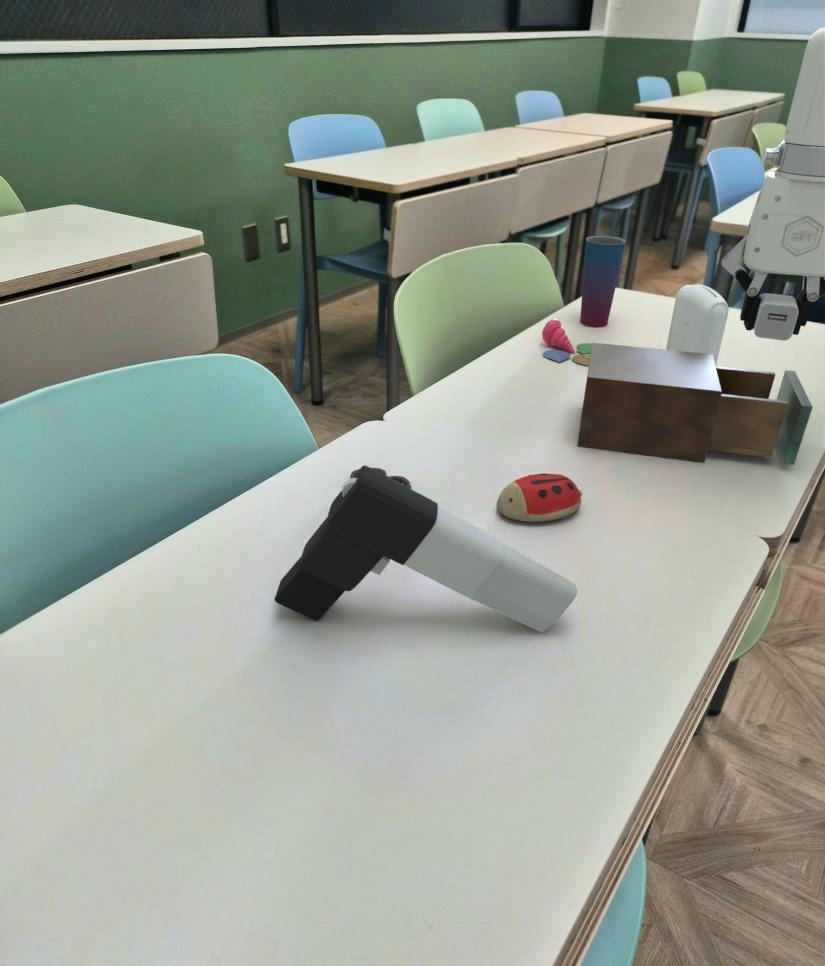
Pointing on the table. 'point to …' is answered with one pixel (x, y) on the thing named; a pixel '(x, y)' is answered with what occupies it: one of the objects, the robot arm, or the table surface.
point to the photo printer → (698, 321)
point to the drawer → (760, 414)
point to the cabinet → (649, 402)
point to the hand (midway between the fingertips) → (770, 327)
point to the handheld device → (417, 555)
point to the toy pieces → (563, 344)
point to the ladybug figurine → (539, 498)
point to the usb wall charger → (776, 317)
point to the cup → (600, 278)
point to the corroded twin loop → (396, 478)
